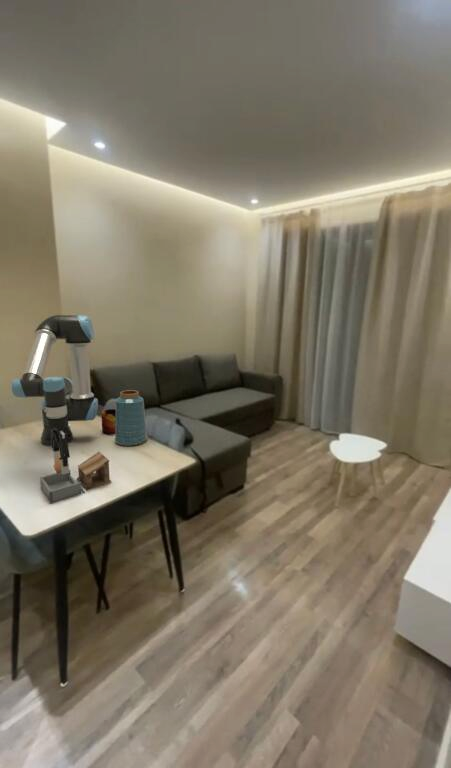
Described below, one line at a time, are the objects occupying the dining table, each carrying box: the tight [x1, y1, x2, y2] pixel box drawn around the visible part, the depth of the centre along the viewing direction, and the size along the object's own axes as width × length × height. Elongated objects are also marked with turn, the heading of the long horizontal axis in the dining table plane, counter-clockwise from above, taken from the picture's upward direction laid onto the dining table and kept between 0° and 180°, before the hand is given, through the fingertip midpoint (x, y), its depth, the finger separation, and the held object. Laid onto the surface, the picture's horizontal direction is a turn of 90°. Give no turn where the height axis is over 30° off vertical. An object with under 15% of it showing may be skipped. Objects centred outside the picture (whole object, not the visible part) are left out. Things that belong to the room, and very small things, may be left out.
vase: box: [114, 389, 148, 447], centre depth 179 cm, size 16×16×27 cm
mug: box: [100, 408, 116, 436], centre depth 194 cm, size 10×14×12 cm
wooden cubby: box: [76, 451, 112, 491], centre depth 138 cm, size 11×10×10 cm
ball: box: [53, 460, 61, 472], centre depth 141 cm, size 5×5×5 cm
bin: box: [39, 469, 83, 504], centre depth 131 cm, size 14×11×4 cm
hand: (61, 469), depth 140 cm, fingers open, 9 cm apart
